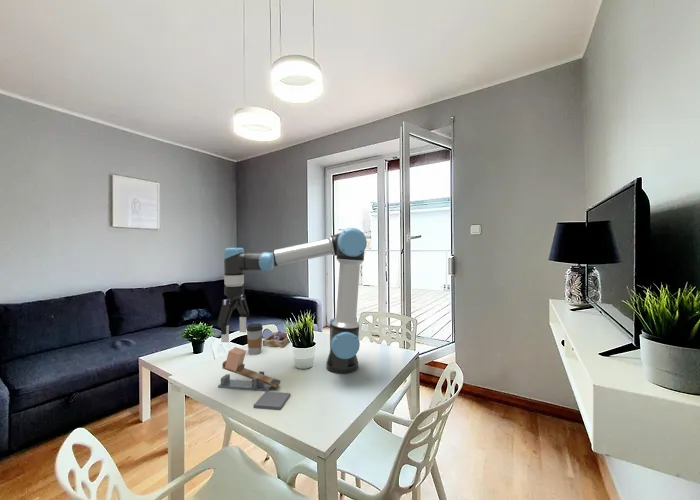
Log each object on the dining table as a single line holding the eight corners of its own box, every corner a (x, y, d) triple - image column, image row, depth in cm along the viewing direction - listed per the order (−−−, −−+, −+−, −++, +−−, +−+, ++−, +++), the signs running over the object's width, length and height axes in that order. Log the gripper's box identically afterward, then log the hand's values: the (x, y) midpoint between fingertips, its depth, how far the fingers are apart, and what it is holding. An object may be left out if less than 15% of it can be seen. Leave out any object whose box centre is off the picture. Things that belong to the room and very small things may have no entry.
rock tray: (293, 338, 182) (293, 333, 182) (283, 347, 166) (283, 341, 166) (274, 337, 184) (274, 332, 184) (262, 346, 168) (262, 340, 168)
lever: (280, 382, 121) (282, 376, 121) (275, 388, 116) (277, 382, 116) (227, 363, 124) (229, 358, 124) (220, 369, 119) (222, 362, 119)
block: (242, 366, 123) (246, 350, 123) (235, 371, 118) (239, 355, 118) (231, 362, 124) (235, 347, 124) (224, 367, 119) (228, 351, 119)
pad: (290, 395, 112) (290, 393, 112) (280, 410, 102) (280, 407, 102) (265, 393, 114) (265, 391, 114) (253, 407, 104) (253, 405, 104)
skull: (278, 347, 167) (278, 336, 167) (265, 346, 169) (265, 335, 169) (286, 340, 179) (286, 330, 179) (275, 340, 180) (274, 330, 180)
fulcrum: (275, 383, 122) (275, 372, 122) (268, 392, 115) (268, 379, 115) (226, 380, 126) (226, 369, 125) (217, 388, 119) (216, 376, 119)
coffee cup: (258, 356, 153) (257, 327, 153) (243, 355, 155) (243, 326, 155) (265, 350, 161) (265, 323, 161) (251, 349, 163) (251, 322, 163)
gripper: (241, 281, 134) (241, 328, 134) (206, 289, 109) (207, 346, 109) (256, 281, 133) (257, 328, 133) (225, 289, 108) (225, 347, 108)
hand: (234, 336), depth 121 cm, fingers open, 13 cm apart
